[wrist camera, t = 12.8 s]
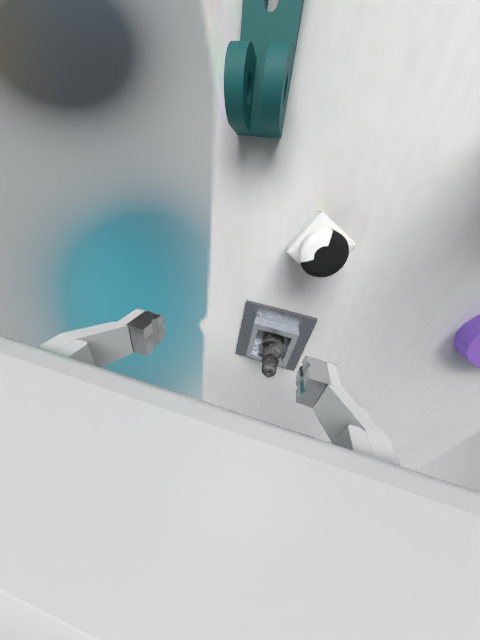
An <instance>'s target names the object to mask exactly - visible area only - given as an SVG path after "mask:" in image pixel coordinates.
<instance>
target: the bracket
mask: <svg viewBox="0 0 480 640" xmlns="http://www.w3.org/2000/svg"><path fill="white" fill-rule="evenodd" d="M303 3H304V0H279V3H278V6H277V8H276V9H275V10H274V11H273V12H268V11H267V6H268V0H243V9H242V24H241V38H240V41H230V43H229V45H228V48H227V52H226V58H225V69H224V97H225V108H226V114H227V119H228V122H229V124H230V126H231V127H232V128H233V129H234V131H235V132H236V133H237V134H238V135H248V136H260V137H271V138H281V135H282V129H283V123H284V117H285V111H286V105H287V99H288V93H289V87H290V81H291V75H292V69H293V63H294V57H295V51H296V45H297V39H298V33H299V27H300V21H301V15H302V9H303Z"/></svg>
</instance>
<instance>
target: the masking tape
mask: <svg viewBox="0 0 480 640" xmlns="http://www.w3.org/2000/svg"><path fill="white" fill-rule="evenodd" d="M454 342H455V347H456V349H457V350H458V351H459V352H460V353H461V354H462V355H463V356H464V357H465V358H466V359H467V360H468V361H469V362H471V363H472V364H473V365H474V366H476V367H478V368H480V315H478V316H476V317H474V318H473V319H471V320H469V321H468V322H467V323H465V324H464V325H463V326H462V327H461V328H460V329H459V331H458V332H457V334H456V336H455V340H454Z"/></svg>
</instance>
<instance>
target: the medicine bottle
mask: <svg viewBox="0 0 480 640" xmlns="http://www.w3.org/2000/svg"><path fill="white" fill-rule="evenodd" d="M355 246H356V244H355V242H354V241H353V240H351V239H350V238H349V237H348V236H347V235H346V234H345V233H344V232H343V231H342V230H341V229H340V228H339V227H338V226H337V225H336V224H335V223H334V222H333V221H332V220H331V219H330V218H329V217H328V216H327V215H326V214H325V213H323V212H321V211H315V212H314V213H313V215H312V216H311V217H310V218H309V219H308V220H307V222H306V223H305V224H304V225H303V226H302V227H301V229H300V230H299V231H298V232H297V233H296V234H295V236H294V237H293V238H292V239H291V240H290V241H289V243H288V244H287V251H286V253H287V254H288V255H289V256H290V257H292V258H293V259H294V260H295V261H296V262H297V263H298V264H299V265H301V266H302V268H303V270H304V271H305V272H306V273H308V274H309V275H311V276H313V277H314V278H315V279H317V280H319V279H320V278H321V277H327V276H330V275H332V274H334V273H336V272H337V271H339V270H340V269H341V268H342V267H343V265H344V264H345V262H346V260H347V258H348V255H349V252H350V251H351V250H352V249H353V248H354V247H355Z"/></svg>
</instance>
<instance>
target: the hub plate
mask: <svg viewBox="0 0 480 640" xmlns="http://www.w3.org/2000/svg"><path fill="white" fill-rule="evenodd" d="M316 322H317V318H313V317H309V316H306V315H302V314H298V313H294V312H290V311H286V310H283V309H279V308H275V307H271V306H267V305H263V304H260V303H256V302H252V301H248V300H247V301H246V305H245V310H244V315H243V319H242V324H241V329H240V334H239V339H238V344H237V348H236V353H235V354H239V355H242V356H246V357H249V358H252V359H256V360H259V361H262V357H263V355H262V354H261V353H260V351H259V346H260V344H261V342H263V341H262V338H263V336H264V335H265V334H266V333H268V332H270V333H274V334H278V335H281V336H283V338H284V344H283V346H284V348H285V353H284V355H283V356H282V357H281V358H279V359H278V360H279V363H278V365H277V366H280V367H283V368H287V369H290V370H293V371H294V369H295V367H296V365H297V363H298V360H299V358H300V356H301V354H302V352H303V350H304V348H305V345H306V343H307V341H308V339H309V337H310V335H311V333H312V331H313V328H314V326H315V324H316Z"/></svg>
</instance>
